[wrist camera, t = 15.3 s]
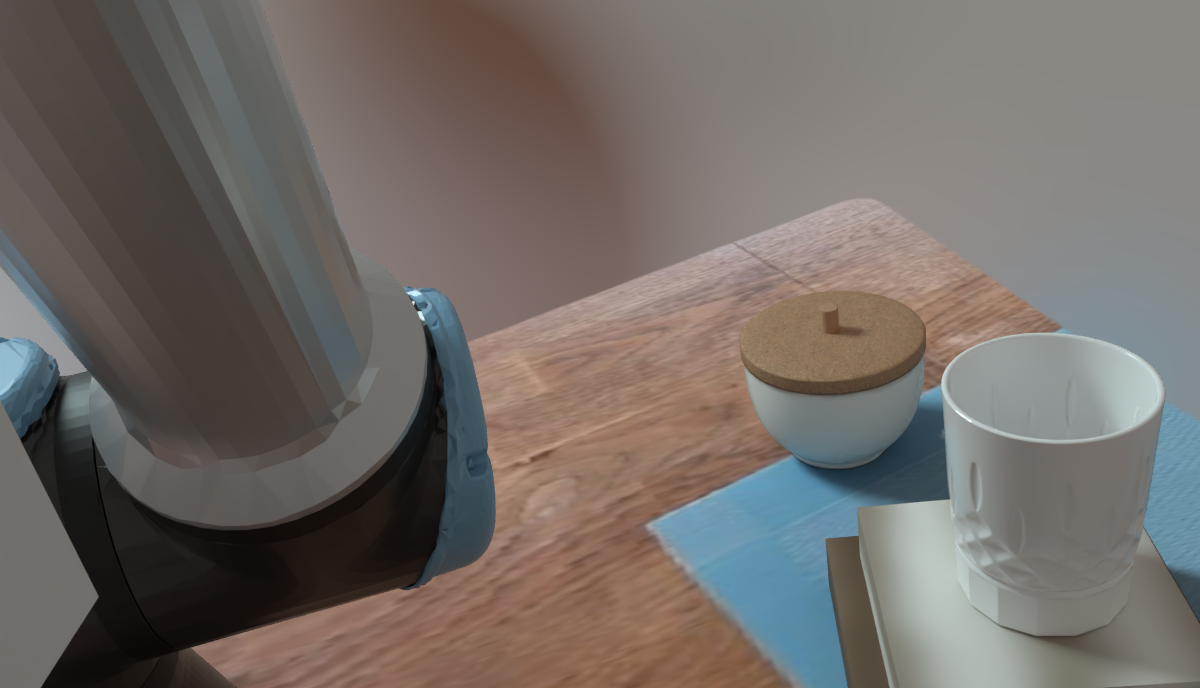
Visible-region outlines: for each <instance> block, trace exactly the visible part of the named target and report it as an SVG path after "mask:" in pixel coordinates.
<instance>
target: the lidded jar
mask: <svg viewBox="0 0 1200 688" xmlns="http://www.w3.org/2000/svg"><path fill="white" fill-rule="evenodd" d="M925 349H926V329H925V326H924V324H923V322H922V320H921V319H920V317H919V316H918V315H917V314H916V313H915V312H914V311H913V310H912V309H911V308H909V307H907V306H906V305H904V304H902V303H900V302H898V301H896V300H893V299H891V298H887V297H884V296H880V295H875V294H871V293H863V292H852V291H831V292H819V293H812V294H807V295H802V296H798V297H794V298H790V299H787V300H784V301H781V302H779V303H776V304H774V305H772V306H770V307H768V308H766V309H764V310H763V311H761V312H760V313H758V314H757V315H756V316H754V317H753V318H752V319H751V320H750V321H749V322H748V324H747V325H746V326H745V328H744V330H743V331H742V333H741V337H740V352H741V358H742V361H743V363H744V369H745V377H746V383H747V388H748V392H749V395H750V399H751V402H752V404H753V407H754V409H755V412H756V414H757V417H758V419H759V420H760V422H761V424H762V425H763V427H764V428H765V430H766V431H767V432H768V434H769V435H770V436H771V437H772V438H773V439H774V440H775V441H776V442H777V443H778V444H780V445H781V446H783V447H784V448H785V449H787V450H788V451H790V452H792V453H793V455H794V456H795V457H796V458H798V459H799V460H801V461H802V462H804V463H806V464H809V465H812V466H815V467H819V468H825V469H848V468H854V467H858V466H862V465H864V464H867V463H869V462H871V461H873V460H875V459H876V458H878V457H879V456H880V455H881V454H882V453H883V452H884V451H885V450H886V448H887V447H889V446H890V445H891V444H893V443H894V442H895V441H896V440H897V439H898V438H899V437H900V436H901V435H902V434H903V433H904V431H905V430H906V429H907V427H908V426H909V424H910V422H911V421H912V419H913V417H914V415H915V413H916V410H917V407H918V403H919V400H920V396H921V392H922V386H923V379H924V352H925Z"/></svg>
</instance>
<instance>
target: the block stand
mask: <svg viewBox="0 0 1200 688" xmlns="http://www.w3.org/2000/svg"><path fill="white" fill-rule="evenodd" d="M857 513H858V530H859V536H852V537H840V538H828V539H826V550H827V563H828V576H829V586H830V592H831V597H832V603H833V608H834V614H835V619H836V625H837V630H838V636H839V641H840V647H841V652H842V657H843V663H844V668H845V674H846V679H847V685H848V688H1200V622H1199V620H1198V618H1197V617H1196V615H1195V613H1194V612H1193V610H1192V608H1191V607H1190V605H1189V603H1188V601H1187V600H1186V598H1185V596H1184V595H1183V593H1182V591H1181V589H1180V588H1179V586H1178V584H1177V583H1176V581H1175V579H1174V578H1173V576H1172V574H1171V572H1170V571H1169V569H1168V567H1167V566H1166V564H1165V562H1164V561H1163V559H1162V557H1161V555H1160V554H1159V552H1158V550H1157V549H1156V547H1155V545H1154V544H1153V542H1152V540H1151V538H1150V537H1149V535H1148V533H1147V532H1146V530H1145V528H1144V526H1143V530H1142V535H1141V540H1140V542H1139V545H1138V548H1137V551H1136V553H1135V557H1134V564H1133V570H1132V577H1131V583H1130V590H1129V596H1128V601H1127V603H1126V605H1125V606H1124V607H1123V608H1122V609H1121V610H1120V612H1119V613H1118V614H1117V615H1116V616H1115V617H1114V619H1113V620H1112V621H1111V622H1110V623H1109V624H1108V625H1105V626H1102V627H1099V628H1097V629H1094V630H1091V631H1089V632H1086V633H1083V634H1080V635H1077V636H1034V635H1031V634H1027V633H1024V632H1021V631H1018V630H1014V629H1011V628H1008V627H1004V626H1001V625H999V624H997V623H996V622H994V621H993V620H991V619H990V618H989V617H987V616H986V615H984V614H983V613H982V612H980V611H979V610H977V609H976V608H975V607H973V606H972V605H971V604H970V602H969V601H968V599H967V597H966V595H965V593H964V591H963V589H962V587H961V585H960V583H959V582H958V579H957V564H956V543H955V535H954V530H953V526H952V520H951V511H950V499H948V500H937V501H926V502H915V503H904V504H893V505H881V506H870V507H859V508H857Z"/></svg>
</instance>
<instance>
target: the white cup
mask: <svg viewBox="0 0 1200 688" xmlns="http://www.w3.org/2000/svg"><path fill="white" fill-rule="evenodd" d="M941 387H942V401H943V415H944V432H945V448H946V465H947V479H948V489H949V495H950V511H951V520H952V526H953V530H954V535H955V543H956V564H957V579H958V582H959V583H960V585H961V587H962V589H963V591H964V593H965V595H966V597H967V599H968V601H969V602H970V604H971V605H972V606H973V607H975V608H976V609H977V610H979V611H980V612H982V613H983V614H984V615H986V616H987V617H989V618H990V619H991V620H993V621H994V622H996V623H997V624H999V625H1001V626H1004V627H1008V628H1011V629H1014V630H1018V631H1021V632H1024V633H1027V634H1031V635H1034V636H1077V635H1080V634H1083V633H1086V632H1089V631H1091V630H1094V629H1097V628H1099V627H1102V626H1105V625H1108V624H1109V623H1110V622H1111V621H1112V620H1113V619H1114V617H1115V616H1116V615H1117V614H1118V613H1119V612H1120V610H1121V609H1122V608H1123V607H1124V606H1125V605H1126V603H1127V601H1128V596H1129V590H1130V583H1131V577H1132V570H1133V564H1134V557H1135V553H1136V551H1137V548H1138V545H1139V542H1140V540H1141V535H1142V530H1143V525H1144V518H1145V513H1146V510H1147V505H1148V500H1149V493H1150V487H1151V481H1152V475H1153V468H1154V462H1155V456H1156V450H1157V444H1158V437H1159V431H1160V426H1161V420H1162V414H1163V408H1164V402H1165V386H1164V384H1163V381H1162V379H1161V377H1160V375H1159V374H1158V373H1157V371H1156V370H1155V369H1154V368H1153V367H1152V366H1151V365H1150V364H1149V363H1147V362H1146V361H1145V360H1144V359H1142V358H1141V357H1139V356H1138V355H1136V354H1134V353H1132V352H1130V351H1128V350H1126V349H1124V348H1122V347H1119V346H1117V345H1114V344H1111V343H1108V342H1105V341H1101V340H1098V339H1094V338H1089V337H1085V336H1079V335H1072V334H1062V333H1027V334H1017V335H1010V336H1005V337H1000V338H996V339H992V340H989V341H986V342H983V343H980V344H978V345H975V346H973V347H971V348H969V349H967V350H966V351H964V352H962V353H961V354H960V355H958V356H957V357H956V358H955V359H953V360H952V361H951V363H950V364H949V365H948V366H947V368H946V370H945V371H944V374H943V377H942V382H941Z"/></svg>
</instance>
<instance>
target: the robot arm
mask: <svg viewBox="0 0 1200 688" xmlns="http://www.w3.org/2000/svg"><path fill="white" fill-rule="evenodd" d="M0 267H1V268H2V269H3V270H4V271H5V273H6V274H7V275H8V276H9V277H10V279H11V280H12V281H13V282H14V283H15V284H16V285H17V287H18V288H19V289H20V290H21V292H22V293H23V294H24V295H25V296H26V298H27V299H28V300H29V301H30V302H31V303H32V305H33V306H34V307H35V308H36V309H37V311H38V312H39V313H40V314H41V315H42V317H44V319H45V320H46V321H47V323H48V324H49V325H50V326H51V327H52V328H53V329H54V331H55V332H56V333H57V334H58V336H59V337H60V338H61V339H62V340H63V342H64V343H65V344H66V345H67V346H68V348H69V349H70V350H71V351H72V352H73V353H74V355H75V356H76V357H77V358H78V359H79V361H80V362H81V363H82V364H83V365H84V366H85V368H86V369H87V370H88V371H86V372H82V373H78V374H74V375H69V376H59V374H60V372H59V370H58V365H57V362H56V359H55V358H53V357H52V356H51V355H48V354H47V353H46V352H45V351H44V350H43V349H42V348H41V347H40V346H39V345H38V344H36V343H34V342H32V341H31V340H28V339H23V338H13V339H11V340H9V339H5V338H0V688H237V687H235V686H234V685H233V684H232V683H231V682H230V681H228V680H227V679H226V678H225V677H224V676H223V675H222V674H220V673H219V672H218V671H217V670H216V669H215V668H213V667H212V666H211V665H210V664H209V663H208V662H206V661H205V660H204V659H203V658H202V657H201V656H200V655H198V654H197V653H196V652H195V651H194V650H193V649H191V647H194V646H198V645H201V644H205V643H208V642H212V641H215V640H219V639H222V638H226V637H229V636H233V635H236V634H240V633H243V632H247V631H250V630H254V629H257V628H261V627H264V626H268V625H271V624H275V623H279V622H282V621H286V620H289V619H293V618H296V617H300V616H303V615H307V614H310V613H314V612H317V611H321V610H324V609H328V608H331V607H335V606H338V605H342V604H345V603H349V602H352V601H356V600H359V599H363V598H366V597H370V596H373V595H377V594H380V593H384V592H388V591H391V590H395V589H398V588H399V589H403V590H410V589H413V588H419V587H420V586H421V585H425V584H426V583H428V582H429V581H430V580H431V579H432V578H433V577H435V576H438V575H441V574H444V573H447V572H450V571H453V570H456V569H459V568H462V567H465V566H467V565H470V564H471V563H473V562H475V561H476V560H478V559H479V558H480V557H481V556H482V555H483V554H484V552H485V551H486V550H487V548H488V546H489V544H490V543H491V540H492V537H493V533H494V528H495V516H496V509H495V487H494V479H493V471H492V466H491V462H490V458H489V456H488V454H487V449H488V443H487V429H486V422H485V416H484V411H483V406H482V401H481V396H480V392H479V387H478V382H477V378H476V374H475V370H474V366H473V362H472V358H471V354H470V351H469V347H468V344H467V340H466V337H465V334H464V330H463V327H462V325H461V322H460V320H459V317H458V314H457V312H456V310H455V308H454V306H453V304H452V303H451V301H450V300H449V298H448V297H447V296H446V295H444V294H442V293H441V292H439V291H438V290H436V289H434V288H420V289H414V288H411V287H405V288H404V287H402V285H401V284H400V283H399V282H398V281H397V280H396V278H395V277H394V276H393V275H392V274H391V273H390V272H389V271H388V270H387V269H385V268H384V267H383V266H381V265H380V264H379V263H377V262H376V261H374V260H373V259H371V258H370V257H368V256H366V255H364V254H363V253H361V252H359V251H357V250H355V249H353V248H350V247H349V246H348V243H347V240H346V238H345V235H344V232H343V229H342V226H341V224H340V221H339V218H338V215H337V213H336V210H335V207H334V204H333V202H332V198H331V196H330V193H329V190H328V187H327V185H326V182H325V179H324V176H323V173H322V171H321V168H320V165H319V163H318V160H317V157H316V154H315V151H314V148H313V146H312V143H311V140H310V137H309V134H308V132H307V129H306V126H305V123H304V121H303V118H302V115H301V112H300V109H299V107H298V104H297V101H296V98H295V95H294V93H293V90H292V87H291V84H290V81H289V79H288V76H287V73H286V70H285V68H284V65H283V62H282V59H281V56H280V53H279V51H278V48H277V45H276V43H275V40H274V37H273V34H272V32H271V29H270V26H269V23H268V20H267V17H266V15H265V12H264V9H263V6H262V3H261V1H260V0H0Z"/></svg>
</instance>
